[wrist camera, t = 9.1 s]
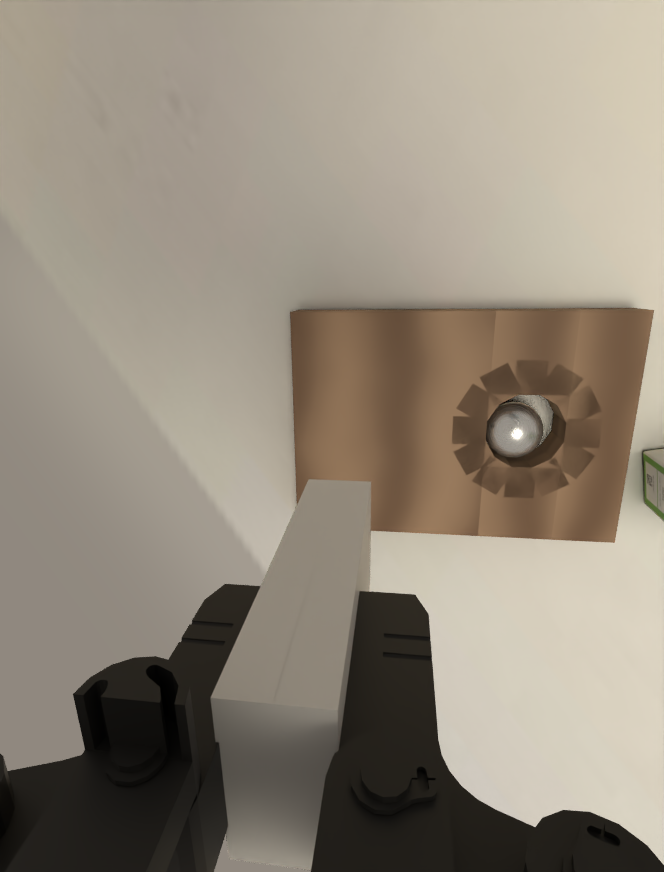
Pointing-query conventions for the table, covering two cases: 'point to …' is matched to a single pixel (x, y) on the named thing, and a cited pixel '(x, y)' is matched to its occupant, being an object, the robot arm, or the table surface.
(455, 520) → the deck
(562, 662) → the table surface
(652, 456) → the ink box
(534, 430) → the ball
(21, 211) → the table surface
